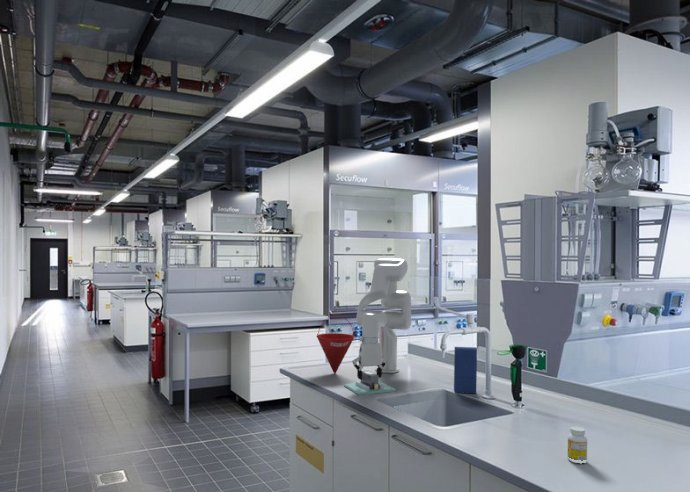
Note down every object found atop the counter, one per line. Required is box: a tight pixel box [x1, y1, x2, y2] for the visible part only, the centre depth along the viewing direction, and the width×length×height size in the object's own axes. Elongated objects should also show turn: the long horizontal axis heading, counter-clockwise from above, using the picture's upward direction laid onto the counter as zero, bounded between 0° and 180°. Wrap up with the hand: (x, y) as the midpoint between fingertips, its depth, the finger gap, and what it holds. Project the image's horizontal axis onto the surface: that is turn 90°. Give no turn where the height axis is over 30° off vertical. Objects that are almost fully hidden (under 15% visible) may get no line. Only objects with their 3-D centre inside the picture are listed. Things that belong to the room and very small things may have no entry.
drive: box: [360, 370, 380, 390], centre depth 231 cm, size 10×4×6 cm, turn 24°
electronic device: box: [453, 346, 478, 395], centre depth 229 cm, size 10×5×20 cm, turn 84°
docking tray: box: [343, 380, 396, 396], centre depth 231 cm, size 16×18×4 cm
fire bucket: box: [316, 314, 356, 374], centre depth 260 cm, size 22×20×30 cm
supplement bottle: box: [567, 426, 588, 461], centre depth 152 cm, size 5×5×10 cm
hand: (369, 378), depth 231 cm, fingers open, 9 cm apart
